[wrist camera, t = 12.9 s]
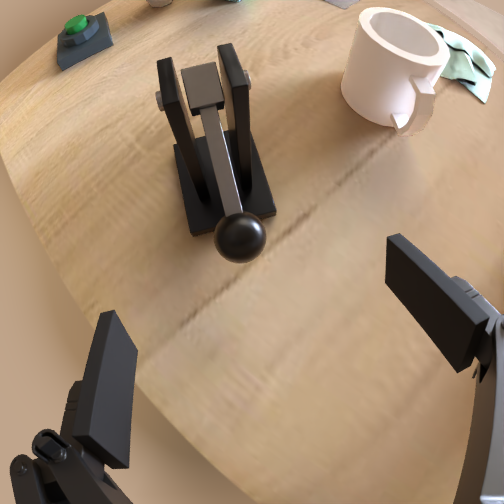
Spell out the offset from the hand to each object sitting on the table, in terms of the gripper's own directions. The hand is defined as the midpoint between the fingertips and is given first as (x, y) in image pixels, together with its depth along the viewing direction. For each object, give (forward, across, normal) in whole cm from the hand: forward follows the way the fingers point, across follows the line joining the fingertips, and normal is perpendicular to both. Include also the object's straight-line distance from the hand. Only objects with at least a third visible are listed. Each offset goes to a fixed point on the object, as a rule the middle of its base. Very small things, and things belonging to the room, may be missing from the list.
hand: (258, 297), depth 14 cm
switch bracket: (+19, 0, 0) cm, 19 cm away
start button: (+41, -16, +26) cm, 51 cm away
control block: (+43, -16, +24) cm, 52 cm away
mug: (+24, +21, +4) cm, 32 cm away
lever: (+10, 0, +4) cm, 11 cm away
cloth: (+31, +40, +11) cm, 52 cm away
